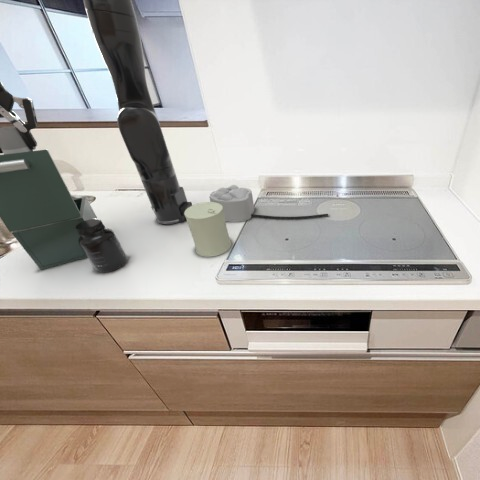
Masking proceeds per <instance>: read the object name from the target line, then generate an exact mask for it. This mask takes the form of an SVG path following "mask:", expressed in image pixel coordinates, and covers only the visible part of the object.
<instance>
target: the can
mask: <svg viewBox="0 0 480 480" xmlns="http://www.w3.org/2000/svg"><path fill="white" fill-rule="evenodd" d="M184 215H185V217H186V219H185V221H186V223H187V225H188V228H189V231H190V233H191V238H192V241H193V244H194V246H195V252H196V253H197V254H198V255H199V256H200V257H206V258H209V257H210V258H212V257H217V256H220V255H222V254H224V253H226V252H228V251H229V249H230V248H231V246H232V241H231V239H230V236H229V231H228V227H227V221H225V217H224V213H223V207H222V205H221V204H219V203H216V202H210V201H203V202H199V203H195V204H192V206H190V207H189V208H187V209H186V210H185V212H184Z"/></svg>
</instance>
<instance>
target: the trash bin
mask: <svg viewBox="0 0 480 480" xmlns="http://www.w3.org/2000/svg"><path fill="white" fill-rule="evenodd" d="M73 200H74V202H75V204H76V205H77V207H78V209H79V211H80V213H81V215H82V216H81V217H76V218H72V219H67V220H63V221H58V222H53V223H49V224H44V225H40V226H35V227H30V228H26V229H21V230H17V231H12V232H11V235H12V236H13V237H14V238H15V239H16V241H17V242H18V243H19V245H20V246H21V247H22V249H24V250H25V252H26V253H27V255H28V256H29V257H30V259H31V260H32V261H33V263H35V265H36V266H37V268H39V270H40V271H43V270H46V269H50V268H54V267H58V266H60V265H64V264H65V265H66V264H68V263H72V262H76V261H79V260H82V259H85V258H86V259H87V258H88V257H87V255H86V254H85V252H84V251H83V249H82V248H81V246H80V245H79V243H78V240H79V237H80V235H79V234H78V232H77V230H76V228H75V227H76V225H78V224H79V223H81V222H83V221H86V220H90V219H99V218H98V217H97V215H96V213H95V211H94V209H93V207H92V205H91V204H90V202H89V200H88V199H87V196H81V197H76V198H73Z"/></svg>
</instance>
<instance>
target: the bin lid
mask: <svg viewBox="0 0 480 480" xmlns="http://www.w3.org/2000/svg"><path fill="white" fill-rule="evenodd" d="M51 155H52V154H51V153H50V152H49V150H48V149H40V150H33V151H29V152H21V153H12V154H4V153H3V154H0V219H1V221H2V222H3V224H4V226H5V227H6V229H7V231H8V232H9V233H12V232H13V231H17V230H21V229H26V228H30V227H35V226H40V225H44V224H49V223H53V222H58V221H63V220H67V219H72V218H76V217H81V216H82V215H81V213H80V211H79V209H78V207H77V205H76V204H75V202H74V200H73V199H74V197H73V196H72V194H71V191H70V190H69V187H68V186H67V184H66V183H65V180H64V178H63V176H62V175H61V173H60V171H59V169H58V167H57V165H56V162H55V161H54V159H53V157H52V156H51Z"/></svg>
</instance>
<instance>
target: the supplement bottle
mask: <svg viewBox="0 0 480 480" xmlns="http://www.w3.org/2000/svg"><path fill="white" fill-rule="evenodd" d="M75 228H76V230H77V232H78V234H79V235H80V237H79V240H78V243H79V245H80V246H81V248H82V249H83V251H84V252H85V254H86V255H87V257H86V258H88V260H89V261H90V263H91V264H92V266H93V267H94V269H95V270H96V271H98V272H99V273H108V272H113V271H116V270H118V269H120V268H121V267H123V266H124V265H125V264H126V263H127V262H128V256H127V254H126V252H125V250H124V248H123V246H122V245H121V243H120V241H119V239H118V237H117V236H116V234H115V232H114V231H113V230H112V229H110V228H108V227H106V226H105V224H104V223H103V221H102V220H101V219H99V218H98V219H90V220H86V221H83V222H81V223H79V224H78V225H76V227H75Z"/></svg>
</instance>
